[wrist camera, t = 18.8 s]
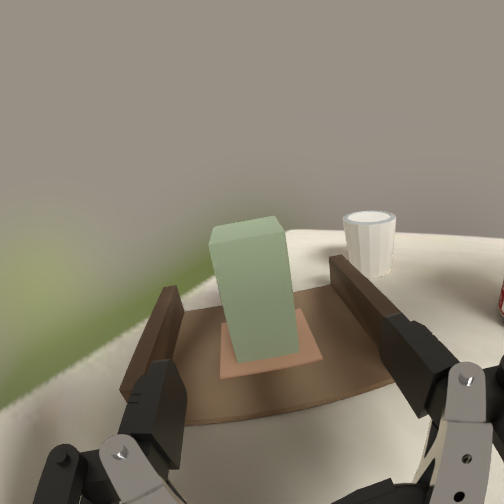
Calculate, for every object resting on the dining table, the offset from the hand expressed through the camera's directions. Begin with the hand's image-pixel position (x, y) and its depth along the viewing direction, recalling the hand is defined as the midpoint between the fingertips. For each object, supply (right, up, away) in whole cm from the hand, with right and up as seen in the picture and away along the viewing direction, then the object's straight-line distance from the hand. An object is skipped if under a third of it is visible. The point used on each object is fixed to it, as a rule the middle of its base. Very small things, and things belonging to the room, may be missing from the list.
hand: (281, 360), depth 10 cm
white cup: (+14, +2, +25) cm, 29 cm away
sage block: (0, -4, +14) cm, 15 cm away
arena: (0, -4, +15) cm, 15 cm away
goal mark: (0, -4, +15) cm, 15 cm away
